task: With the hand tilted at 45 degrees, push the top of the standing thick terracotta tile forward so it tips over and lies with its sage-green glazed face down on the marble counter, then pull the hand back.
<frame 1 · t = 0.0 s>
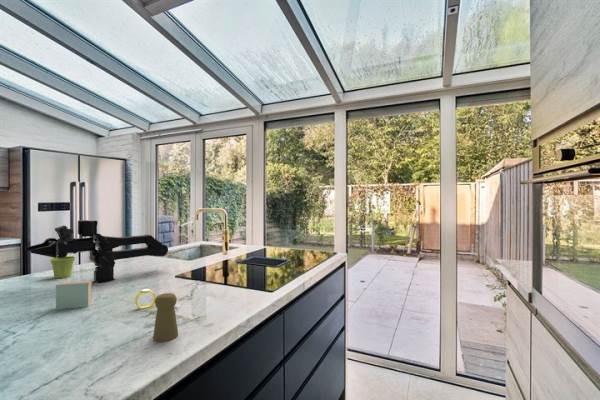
hand: (28, 250, 115), 17 cm above the worktop, tool horizontal, fingers open, 9 cm apart
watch: (145, 308, 101), on the worktop
plant pot: (62, 277, 141), on the worktop
cork: (165, 337, 80), on the worktop
tile: (74, 306, 102), on the worktop
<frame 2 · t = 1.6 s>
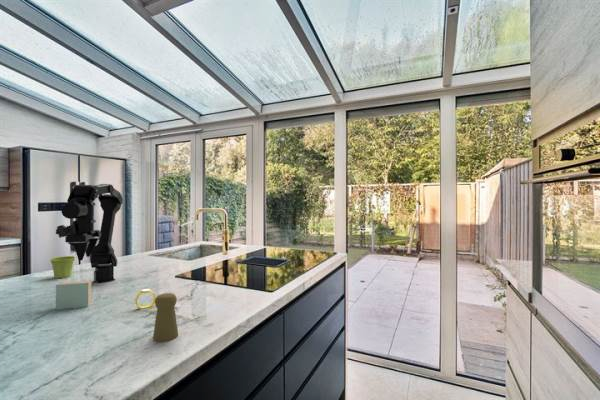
hand: (84, 258, 117), 13 cm above the worktop, tool pointing down, fingers open, 8 cm apart
nothing on the worktop moved.
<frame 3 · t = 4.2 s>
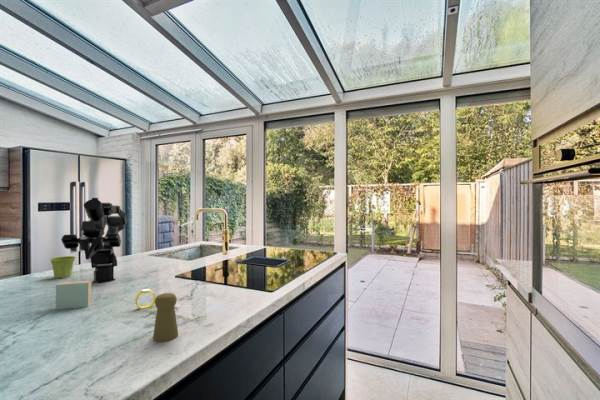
hand: (87, 258, 114), 14 cm above the worktop, tool tilted 45°, fingers closed
nothing on the worktop moved.
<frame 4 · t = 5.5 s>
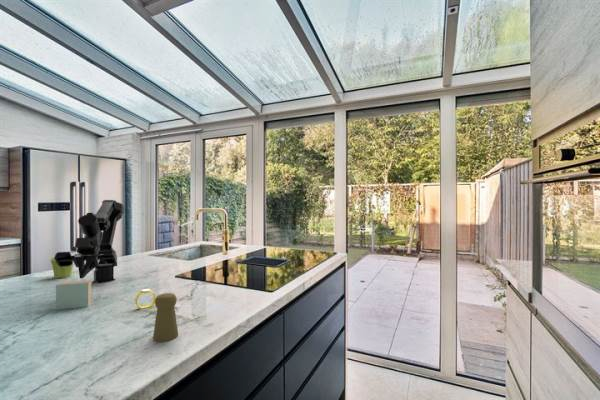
hand: (81, 277, 108), 8 cm above the worktop, tool tilted 45°, fingers closed
nothing on the worktop moved.
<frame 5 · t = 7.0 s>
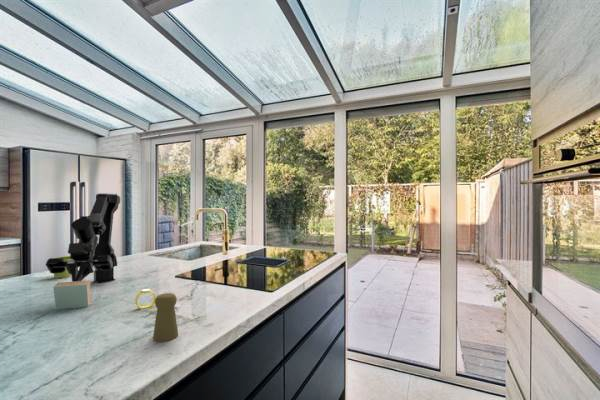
hand: (74, 285, 102), 7 cm above the worktop, tool tilted 45°, fingers closed
tile: (74, 305, 102), on the worktop, tilted 13°
everything else where it was.
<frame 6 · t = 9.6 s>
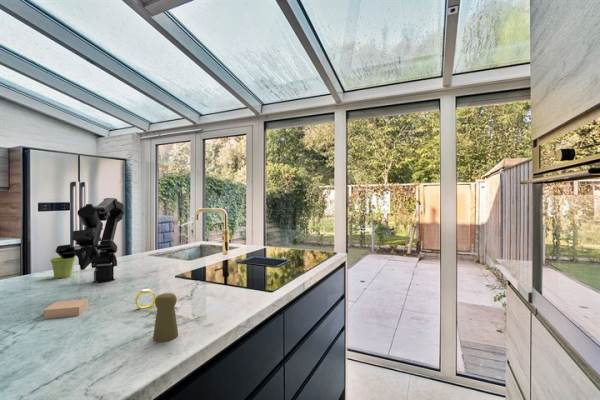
hand: (82, 269, 110), 11 cm above the worktop, tool tilted 40°, fingers closed
tile: (72, 304, 100), point 1 cm above the worktop, tilted 90°
everything else where it was.
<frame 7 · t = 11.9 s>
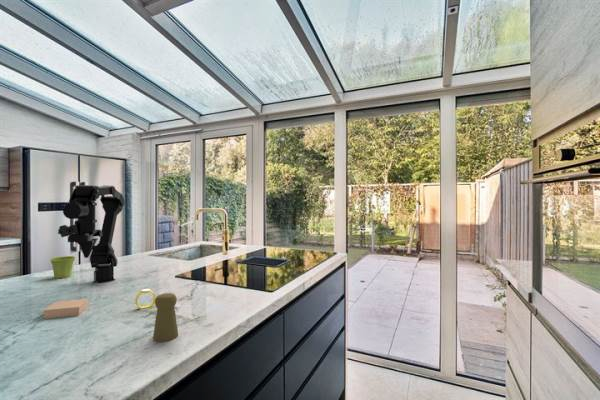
hand: (86, 257, 119), 13 cm above the worktop, tool pointing down, fingers closed
nothing on the worktop moved.
at the end: tile tilted 90°; tile inside the target area (3.7 cm from its centre), point 1.1 cm above the worktop; the gripper is holding nothing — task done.
